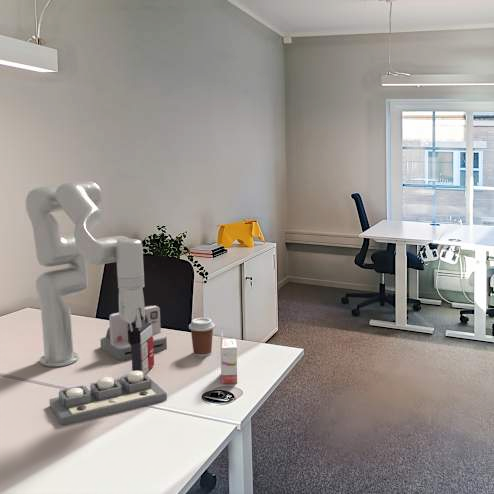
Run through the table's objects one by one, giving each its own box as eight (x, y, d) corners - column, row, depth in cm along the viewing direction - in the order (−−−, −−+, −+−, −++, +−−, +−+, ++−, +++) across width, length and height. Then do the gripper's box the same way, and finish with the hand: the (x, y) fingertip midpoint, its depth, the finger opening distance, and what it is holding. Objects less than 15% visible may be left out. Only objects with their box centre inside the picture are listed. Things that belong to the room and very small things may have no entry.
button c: (125, 380, 177) (125, 372, 177) (140, 377, 180) (139, 369, 179) (130, 385, 173) (130, 377, 173) (145, 382, 176) (145, 374, 175)
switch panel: (49, 405, 169) (48, 390, 168) (148, 383, 184) (148, 369, 184) (62, 425, 157) (60, 409, 157) (166, 399, 172) (166, 385, 172)
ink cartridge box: (238, 383, 183) (237, 338, 181) (222, 384, 183) (221, 338, 180) (236, 372, 192) (235, 329, 189) (220, 373, 191) (219, 329, 189)
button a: (64, 398, 168) (64, 390, 168) (81, 394, 171) (80, 386, 170) (69, 404, 165) (68, 395, 164) (85, 400, 167) (85, 392, 166)
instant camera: (112, 362, 202) (110, 320, 200) (97, 345, 220) (94, 306, 218) (171, 351, 212) (169, 311, 210) (151, 335, 230) (150, 298, 228)
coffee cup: (186, 350, 213) (185, 318, 211) (210, 347, 216) (210, 315, 214) (193, 359, 204) (192, 325, 202) (218, 355, 207) (218, 322, 205)
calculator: (143, 378, 188) (141, 333, 185) (130, 377, 189) (128, 332, 186) (155, 365, 199) (153, 322, 196) (143, 365, 200) (141, 322, 197)
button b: (95, 386, 173) (95, 379, 172) (111, 383, 175) (110, 375, 175) (100, 392, 169) (100, 384, 168) (116, 388, 171) (115, 381, 171)
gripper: (110, 279, 175) (113, 338, 179) (127, 288, 163) (130, 352, 166) (134, 275, 179) (137, 334, 182) (153, 285, 167) (156, 347, 170)
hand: (134, 342), depth 174 cm, fingers closed
